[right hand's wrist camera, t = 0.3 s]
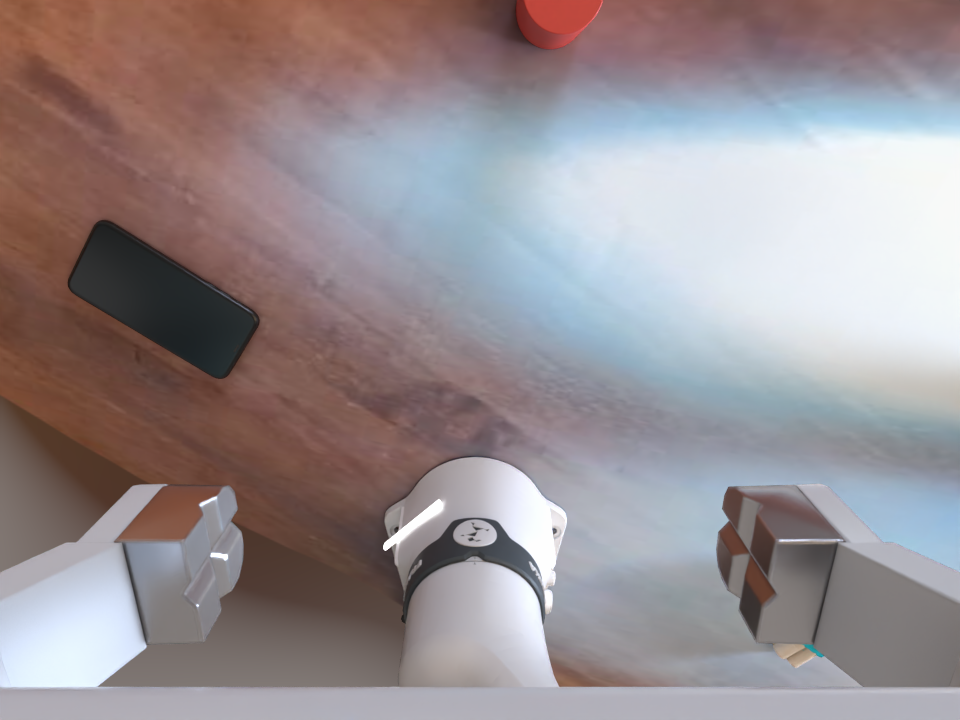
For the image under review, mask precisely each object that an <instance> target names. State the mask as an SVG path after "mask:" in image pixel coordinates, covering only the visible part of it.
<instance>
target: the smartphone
mask: <svg viewBox="0 0 960 720" xmlns="http://www.w3.org/2000/svg"><path fill="white" fill-rule="evenodd" d="M68 287H69V289H70V290H71V292H72V293H74V294H75V295H76V296H78V297H80V298H81V299H83V300H85V301H86V302H88V303H90V304H91V305H93V306H95V307H97V308H98V309H100V310H102V311H103V312H105V313H107V314H108V315H110V316H112V317H113V318H115V319H117V320H118V321H120V322H122V323H123V324H125V325H127V326H128V327H130V328H132V329H133V330H135V331H137V332H139V333H140V334H142V335H144V336H145V337H147V338H149V339H150V340H152V341H154V342H155V343H157V344H159V345H160V346H162V347H164V348H165V349H167V350H169V351H170V352H172V353H174V354H175V355H177V356H179V357H180V358H182V359H184V360H185V361H187V362H189V363H191V364H192V365H194V366H196V367H197V368H199V369H201V370H202V371H204V372H206V373H207V374H209V375H211V376H213V377H215V378H218V379H223V378H225V377H227V376H228V375H229V374H230V372H231V371H232V369H233V367H234V366H235V364H236V363H237V361H238V359H239V358H240V356H241V354H242V353H243V351H244V349H245V348H246V346H247V344H248V343H249V341H250V339H251V338H252V336H253V334H254V333H255V331H256V329H257V328H258V325H259V317H258V315H257V314H256V313H255V312H254V311H253V310H252V309H250V308H248V307H247V306H245V305H244V304H242V303H240V302H239V301H237V300H236V299H234V298H232V297H231V296H230V295H228V294H227V293H225V292H223V291H222V290H220V289H218V288H217V287H215V286H214V285H212V284H211V283H209V282H207V281H205V280H204V279H202V278H201V277H199V276H197V275H196V274H194V273H193V272H191V271H189V270H188V269H186V268H185V267H183V266H181V265H180V264H178V263H177V262H175V261H173V260H172V259H170V258H169V257H167V256H165V255H164V254H162V253H161V252H159V251H157V250H156V249H154V248H153V247H151V246H150V245H148V244H146V243H145V242H143V241H142V240H140V239H138V238H137V237H135V236H134V235H132V234H130V233H129V232H127V231H126V230H124V229H122V228H121V227H119V226H118V225H116V224H114V223H113V222H110V221H107V220H101V221H98V222H97V223H96V224H95V225H94V227H93V229H92V231H91V233H90V235H89V237H88V239H87V241H86V243H85V245H84V247H83V249H82V252H81V254H80V256H79V258H78V260H77V262H76V264H75V266H74V268H73V270H72V272H71V275H70V277H69V279H68Z"/></svg>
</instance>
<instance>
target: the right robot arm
mask: <svg viewBox="0 0 960 720" xmlns="http://www.w3.org/2000/svg"><path fill="white" fill-rule="evenodd" d="M237 509H238V507H237V502H236V497H235V492H234V490H233V489H232V488H231V487H230V486H222V485H172V484H171V485H167V484H140V485H135V486H132V487H131V488H130V489H129V490H128V491H127V492H126V493H125V494H124V495H123V496H122V497H121V498H120V499H119V500H118V501H117V502H116V503H115V504H114V505H113V506H112V507H111V508H110V509H109V510H108V511H107V512H106V513H105V514H104V515H103V516H102V517H101V518H100V519H99V520H98V521H97V522H96V523H95V524H94V525H93V526H92V527H91V528H90V529H89V530H88V531H87V532H86V533H85V534H84V535H83V536H82V537H81V538H80V539H79V540H78V541H77V542H76V543H64V544H62V545H60V546H57V547H55V548H53V549H51V550H49V551H46V552H44V553H42V554H40V555H37V556H35V557H33V558H31V559H29V560H26V561H24V562H22V563H20V564H18V565H15V566H13V567H11V568H9V569H6V570H4V571H2V572H0V720H960V572H958V571H956V570H953V569H951V568H949V567H947V566H945V565H942V564H940V563H938V562H936V561H934V560H931V559H929V558H927V557H925V556H922V555H920V554H918V553H916V552H914V551H911V550H909V549H907V548H905V547H903V546H900V545H898V544H896V543H884V542H883V541H882V540H881V539H880V538H879V537H878V536H877V535H876V534H875V533H874V532H873V531H872V530H871V529H870V528H869V527H868V526H867V525H866V524H865V523H864V522H863V521H862V520H861V519H860V518H859V517H858V516H857V515H856V514H855V513H854V512H853V511H852V510H851V509H850V508H849V507H848V506H847V505H846V504H845V503H844V502H843V501H842V500H841V499H840V498H839V497H838V496H837V495H836V494H835V493H834V492H833V491H832V490H831V489H830V488H829V487H828V486H825V485H822V484H802V485H771V486H734V487H728V489H727V491H726V493H725V495H724V501H723V507H722V509H723V511H724V513H725V514H726V516H727V517H728V519H729V522H728V523H727V524H726V525H725V526H724V527H723V528H722V529H721V530H720V531H719V532H718V540H717V548H716V551H717V562H718V568H719V572H720V575H721V578H722V580H723V582H724V584H725V586H726V588H727V590H728V591H730V592H731V593H733V594H734V595H736V596H737V597H739V598H740V605H739V612H740V614H741V616H742V618H743V620H744V621H745V623H746V625H747V627H748V629H749V631H750V632H751V634H752V636H753V638H754V640H755V641H756V643H773V644H809V645H814V646H813V647H814V648H815V649H816V650H817V651H819V652H820V653H821V654H822V655H824V656H825V657H826V658H828V659H829V660H830V661H831V662H833V663H834V664H835V665H836V666H838V667H839V668H840V669H841V670H843V671H844V672H845V673H846V674H848V675H849V676H850V677H852V678H853V679H854V680H855V681H857V682H858V683H859V684H860V685H862V686H863V687H559V686H558V684H557V682H556V680H555V677H554V675H553V672H552V668H551V664H550V660H549V656H548V652H547V647H546V642H545V637H544V631H543V624H544V619H545V614H548V613H550V612H551V608H552V591H550V590H547V588H548V586H554V583H555V572H554V571H553V568H554V566H555V561H556V558H557V555H558V551H559V548H560V544H561V541H562V538H563V534H564V531H565V528H566V524H567V519H566V513H565V512H564V511H563V510H562V509H561V508H560V507H558V506H557V505H555V504H554V503H552V502H550V501H548V500H547V499H545V498H544V497H543V496H542V495H541V493H540V492H539V491H538V489H537V488H536V486H535V485H534V484H533V482H532V481H531V480H530V479H529V478H528V477H527V476H526V475H525V474H523V473H522V472H521V471H520V470H518V469H516V468H515V467H513V466H511V465H509V464H507V463H504V462H502V461H498V460H495V459H490V458H483V457H468V458H461V459H456V460H452V461H449V462H446V463H444V464H442V465H440V466H438V467H436V468H434V469H433V470H431V471H430V472H429V473H427V474H426V475H425V476H424V477H423V478H422V479H421V480H420V481H419V482H418V484H417V485H416V486H415V488H414V489H413V490H412V492H411V493H410V494H409V495H408V496H407V497H406V498H405V499H403V500H401V501H399V502H398V503H396V504H394V505H393V506H391V507H390V508H389V509H388V510H387V511H386V513H385V520H384V522H385V527H386V530H387V534H388V537H389V540H388V541H387V542H385V543H384V548H383V549H384V550H387V549H388V548H389V547H391V548H392V551H393V555H394V558H395V565H396V566H397V569H398V572H399V576H400V579H401V583H402V586H403V590H404V596H403V601H404V606H403V615H402V618H401V620H402V622H404V623H405V624H406V626H405V633H404V640H403V646H402V653H401V659H400V666H399V673H398V686H399V687H97V686H98V685H100V684H101V683H102V682H104V681H105V680H106V679H107V678H109V677H110V676H111V675H112V674H114V673H115V672H116V671H118V670H119V669H120V668H121V667H123V666H124V665H125V664H126V663H128V662H129V661H130V660H131V659H133V658H134V657H135V656H137V655H138V654H139V653H140V652H142V651H143V650H144V649H145V648H146V647H147V646H146V645H151V644H186V643H204V642H205V640H206V638H207V636H208V634H209V632H210V631H211V629H212V627H213V625H214V623H215V621H216V620H217V618H218V616H219V614H220V612H221V605H220V598H221V597H223V596H224V595H226V594H227V593H229V592H230V591H232V590H233V588H234V586H235V584H236V582H237V580H238V578H239V575H240V571H241V567H242V562H243V538H242V532H241V531H240V530H239V529H238V528H237V527H236V526H235V525H234V524H233V523H232V522H231V519H232V517H233V516H234V514H235V513H236V511H237ZM395 527H399V529H396V528H395ZM552 528H556V529H555V530H552Z"/></svg>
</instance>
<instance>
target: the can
mask: <svg viewBox="0 0 960 720" xmlns="http://www.w3.org/2000/svg"><path fill="white" fill-rule="evenodd" d="M602 2H603V0H517V4H516V18H517V23H518V26H519V28H520V30H521V32H522V34H523V35H524V37H525V38H526V39H527V40H528V41H529V42H530V43H532V44H533V45H535V46H537V47H540V48H543V49H557V48H560V47H563V46H565V45H567V44H568V43H570V42H571V41H572V40H573V39H574V38H575V37H576V36H577V35H578V34H579V33H580V32H581V31H582V30H583V29H584V28H585V27H586V26H587V25H588V24H589V23H590V22H591V21H592V20H593V19H594V18H595V16H596V15H597V13H598V11H599V10H600V7H601V5H602Z"/></svg>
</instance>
